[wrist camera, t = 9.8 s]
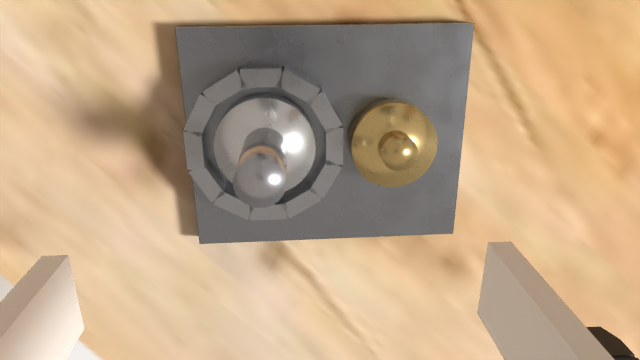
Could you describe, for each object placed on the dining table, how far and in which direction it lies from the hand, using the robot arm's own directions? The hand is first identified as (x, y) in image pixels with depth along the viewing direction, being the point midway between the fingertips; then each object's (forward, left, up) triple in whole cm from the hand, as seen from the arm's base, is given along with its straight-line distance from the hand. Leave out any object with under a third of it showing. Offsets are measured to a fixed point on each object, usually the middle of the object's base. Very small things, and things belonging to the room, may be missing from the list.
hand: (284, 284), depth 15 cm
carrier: (+1, +3, -22) cm, 22 cm away
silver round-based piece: (+1, -1, -20) cm, 21 cm away
